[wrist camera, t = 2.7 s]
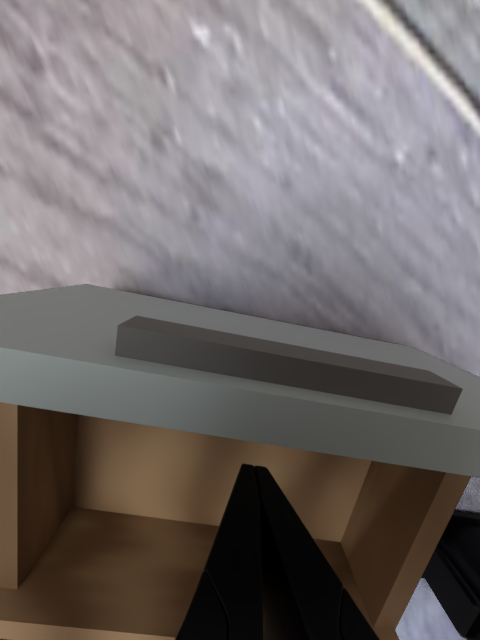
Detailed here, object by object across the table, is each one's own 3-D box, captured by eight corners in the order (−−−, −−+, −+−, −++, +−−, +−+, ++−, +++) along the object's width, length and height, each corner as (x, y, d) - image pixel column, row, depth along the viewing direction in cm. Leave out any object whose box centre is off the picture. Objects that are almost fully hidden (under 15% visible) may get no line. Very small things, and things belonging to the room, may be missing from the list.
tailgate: (419, 336, 13) (682, 436, 5) (407, 367, 14) (636, 502, 6) (87, 270, 12) (-182, 278, 4) (85, 306, 12) (-164, 376, 5)
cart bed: (400, 363, 16) (527, 438, 9) (339, 526, 19) (400, 676, 12) (84, 303, 14) (-50, 338, 8) (72, 490, 17) (-31, 635, 11)
